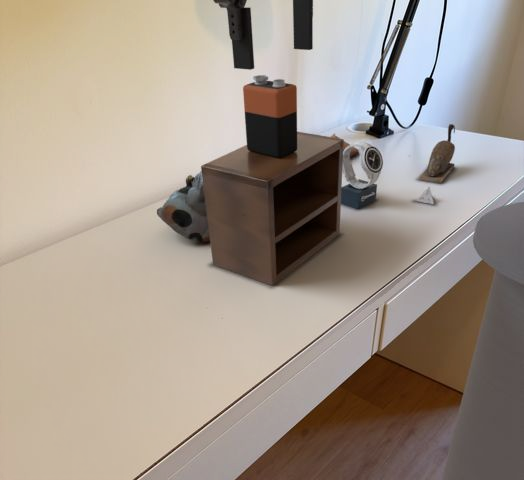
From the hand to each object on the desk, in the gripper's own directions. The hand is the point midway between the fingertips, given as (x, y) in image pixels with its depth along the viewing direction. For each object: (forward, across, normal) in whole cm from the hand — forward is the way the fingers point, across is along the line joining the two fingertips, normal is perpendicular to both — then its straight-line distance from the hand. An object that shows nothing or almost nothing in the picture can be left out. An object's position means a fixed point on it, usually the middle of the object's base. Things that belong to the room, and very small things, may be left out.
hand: (275, 58), depth 71 cm
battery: (+13, 0, -1) cm, 13 cm away
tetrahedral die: (+29, -31, +12) cm, 44 cm away
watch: (+29, -24, +1) cm, 37 cm away
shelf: (+29, 0, -1) cm, 29 cm away
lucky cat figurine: (+29, 0, -17) cm, 33 cm away
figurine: (+29, -47, +8) cm, 56 cm away
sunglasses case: (+29, -40, -15) cm, 51 cm away
